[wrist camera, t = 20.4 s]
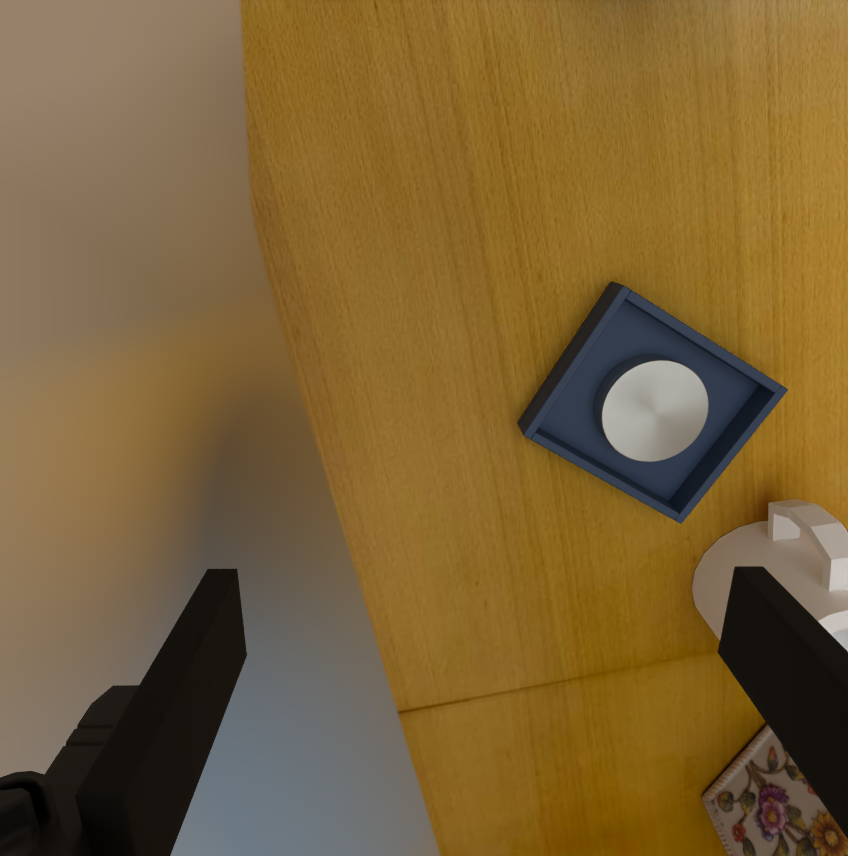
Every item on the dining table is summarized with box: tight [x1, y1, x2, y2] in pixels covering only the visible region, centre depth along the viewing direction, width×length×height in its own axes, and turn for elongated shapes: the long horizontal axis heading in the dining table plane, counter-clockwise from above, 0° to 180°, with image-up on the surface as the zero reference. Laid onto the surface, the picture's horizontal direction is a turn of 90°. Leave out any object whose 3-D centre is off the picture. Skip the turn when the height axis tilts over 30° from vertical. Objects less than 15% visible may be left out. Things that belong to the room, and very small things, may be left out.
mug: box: [692, 499, 848, 651], centre depth 42 cm, size 14×10×11 cm
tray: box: [518, 282, 788, 523], centre depth 41 cm, size 13×11×3 cm
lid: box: [594, 354, 709, 462], centre depth 41 cm, size 7×7×2 cm
